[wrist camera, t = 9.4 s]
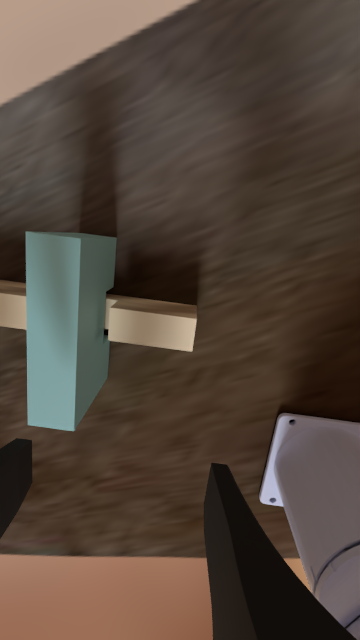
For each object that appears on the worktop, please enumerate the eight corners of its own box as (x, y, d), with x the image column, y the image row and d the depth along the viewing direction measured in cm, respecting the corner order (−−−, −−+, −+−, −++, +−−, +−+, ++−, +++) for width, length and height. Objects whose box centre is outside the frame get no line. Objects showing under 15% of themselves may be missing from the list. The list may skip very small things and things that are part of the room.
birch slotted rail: (196, 305, 21) (196, 318, 18) (192, 333, 21) (192, 351, 18) (-7, 278, 21) (-45, 287, 18) (-6, 307, 22) (-43, 320, 18)
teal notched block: (116, 237, 20) (80, 238, 14) (107, 377, 23) (73, 431, 16) (78, 232, 20) (25, 231, 14) (74, 372, 23) (27, 424, 16)
